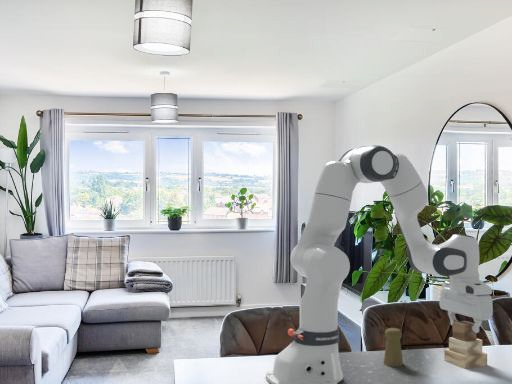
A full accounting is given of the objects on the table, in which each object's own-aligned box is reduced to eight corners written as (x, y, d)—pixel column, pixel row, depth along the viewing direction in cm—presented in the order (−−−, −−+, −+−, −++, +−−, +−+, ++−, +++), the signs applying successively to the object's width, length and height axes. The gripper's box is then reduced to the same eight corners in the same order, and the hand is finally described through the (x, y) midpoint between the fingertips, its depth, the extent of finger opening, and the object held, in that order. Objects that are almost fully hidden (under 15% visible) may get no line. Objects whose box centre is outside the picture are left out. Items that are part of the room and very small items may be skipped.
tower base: (464, 369, 169) (464, 356, 169) (444, 361, 177) (444, 349, 177) (487, 366, 172) (487, 353, 172) (466, 358, 181) (466, 346, 181)
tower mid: (466, 355, 170) (466, 342, 170) (449, 350, 176) (449, 337, 176) (482, 352, 173) (482, 339, 173) (464, 347, 179) (464, 335, 180)
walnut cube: (463, 341, 172) (463, 325, 172) (452, 337, 176) (452, 321, 176) (476, 339, 173) (476, 323, 174) (464, 336, 178) (464, 320, 178)
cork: (405, 366, 171) (405, 331, 171) (385, 366, 171) (385, 331, 171) (400, 360, 177) (400, 326, 177) (381, 360, 177) (381, 326, 177)
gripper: (434, 281, 184) (434, 322, 184) (479, 290, 165) (480, 337, 164) (450, 280, 186) (450, 321, 186) (496, 289, 167) (496, 335, 167)
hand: (464, 328), depth 175 cm, fingers open, 8 cm apart
